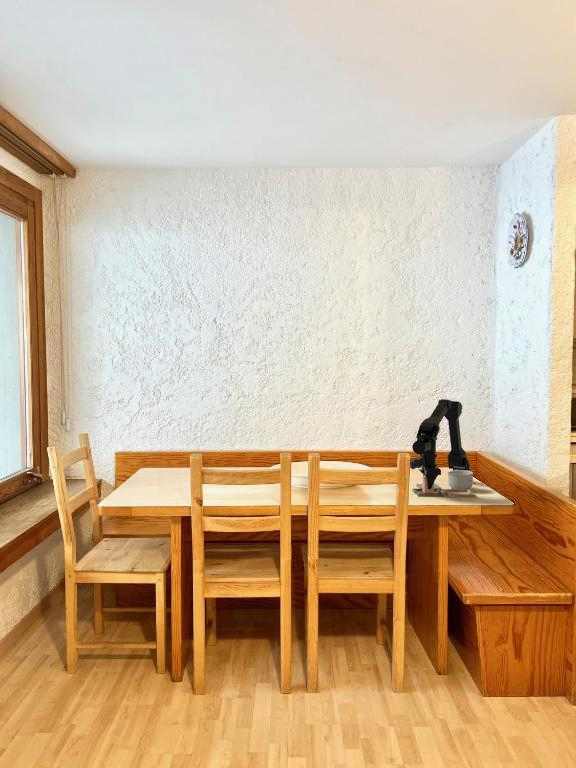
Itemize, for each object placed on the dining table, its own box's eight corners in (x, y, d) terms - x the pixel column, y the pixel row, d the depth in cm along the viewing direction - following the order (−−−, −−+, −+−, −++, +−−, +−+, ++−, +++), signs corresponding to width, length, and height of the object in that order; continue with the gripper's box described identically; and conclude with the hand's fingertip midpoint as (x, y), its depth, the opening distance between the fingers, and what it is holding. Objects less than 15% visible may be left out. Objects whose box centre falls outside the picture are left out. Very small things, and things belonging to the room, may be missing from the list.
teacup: (473, 493, 284) (473, 474, 283) (447, 491, 286) (448, 473, 286) (471, 486, 297) (471, 469, 297) (446, 485, 300) (446, 467, 299)
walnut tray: (412, 492, 285) (412, 488, 285) (437, 492, 285) (437, 488, 285) (418, 497, 274) (418, 494, 274) (444, 497, 274) (444, 494, 274)
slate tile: (416, 487, 295) (416, 483, 295) (436, 487, 295) (436, 484, 295) (420, 491, 286) (421, 488, 286) (441, 491, 286) (441, 488, 286)
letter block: (422, 490, 281) (422, 475, 281) (431, 490, 281) (431, 475, 281) (424, 492, 277) (424, 477, 277) (433, 492, 277) (434, 477, 277)
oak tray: (442, 492, 284) (442, 489, 284) (468, 492, 284) (468, 489, 284) (449, 498, 273) (449, 494, 273) (476, 498, 273) (476, 494, 273)
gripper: (405, 448, 287) (404, 483, 288) (414, 454, 269) (414, 492, 270) (430, 448, 288) (430, 483, 288) (441, 455, 269) (441, 492, 270)
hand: (428, 488), depth 279 cm, fingers closed on letter block, 4 cm apart
